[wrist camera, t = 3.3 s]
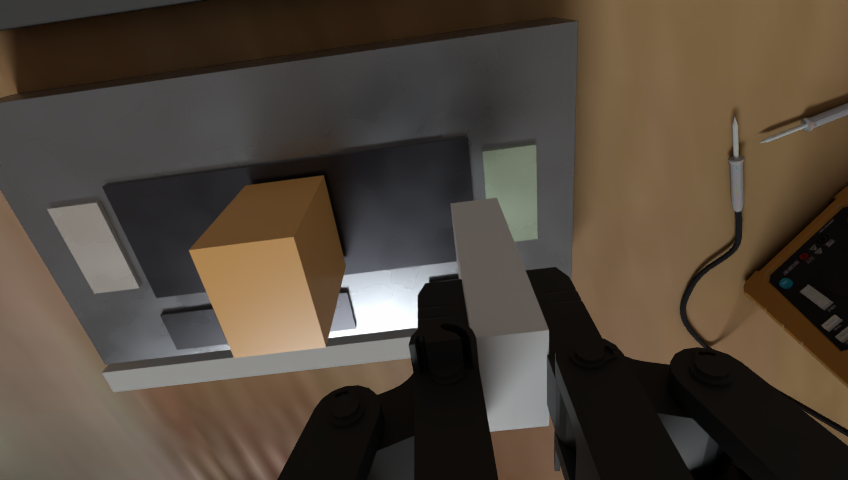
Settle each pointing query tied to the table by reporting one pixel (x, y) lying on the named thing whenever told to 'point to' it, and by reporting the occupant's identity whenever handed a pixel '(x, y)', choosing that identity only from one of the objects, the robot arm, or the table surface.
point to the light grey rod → (257, 361)
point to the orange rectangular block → (273, 267)
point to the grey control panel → (294, 172)
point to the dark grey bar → (69, 10)
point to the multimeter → (800, 274)
